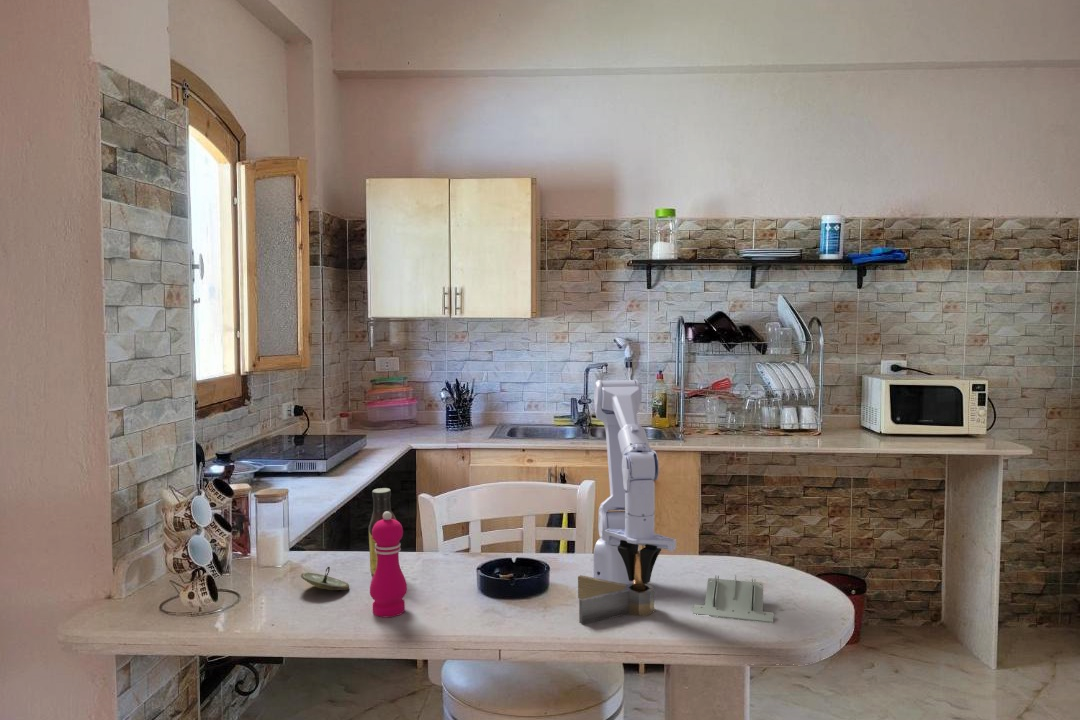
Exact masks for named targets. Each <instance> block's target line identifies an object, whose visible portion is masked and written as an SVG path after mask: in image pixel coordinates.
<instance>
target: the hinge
mask: <svg viewBox="0 0 1080 720" xmlns="http://www.w3.org/2000/svg"><path fill="white" fill-rule="evenodd" d="M577 598H578V602H579V603H578V606H579V608H578V610H579V613H578V615H579V619H578V621H579V624H581V625H586V624H589V623H593V622H598V621H603V620H607V619H611V618H617V617H620V616H625V615H633V616H638V617H640V616H641V617H642V616H649V615H651V614H652V613H654V612H655V588H654V586H652V585H651V584H648V583H647V584H646V585H645V591H640V592H638V591H634V590H633V583H632V584H628V585H627V584H622V583H617V582H612V581H607V580H602V579H597V578H594V577H591V576H586V575H581V574H580V575H578V577H577ZM653 611H654V612H653Z"/></svg>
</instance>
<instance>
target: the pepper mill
mask: <svg viewBox="0 0 1080 720" xmlns="http://www.w3.org/2000/svg"><path fill="white" fill-rule="evenodd" d="M391 517H392V514H391V513H390V512H388V511H386V512H384V513H383V519H382V520H380V521H378V522H377V523H376V524H375V525H374V526H373V529H372V538H373V540H374V541H375V542H376V544H375V552H376V553H377V567H376V571H375V574H374V576H373V579H371V582H370V585H369V595H370V597H371V599H373V600H374V601H373V602H372V614H373V615H374V616H377V617H381V618H392V617H397V616H399V615H401V614H403V613H404V612H405V610H406V607H405V606H406V604H405V603H406V602H405V599H403V598H404V597H406V595H407V592H408V584H407V581H406V578H405V576H404V574H403V571H402V569H401V566H400V562H399V560H400V559H398V555H399V554H400V553H399V552H401V550H402V548H401V544H402V543H401V542H400V541H401V540H402V538H403V534H404V528H403V526H402V523H400V521H398V520H397V519H396V520H395V519H391Z"/></svg>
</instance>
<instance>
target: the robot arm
mask: <svg viewBox="0 0 1080 720" xmlns="http://www.w3.org/2000/svg"><path fill="white" fill-rule="evenodd" d="M642 391H643V390H642V386H641V383H640V381H639V380H638V379H630V380H629V379H628V380H626V379H623V380H622V379H621V380H611V379H610V380H607V379H606V380H601V379H598V380H597V379H596V382H594V388H593V400H594V401H593V402H594V403H593V405H594V414H595V417H596V420H598V421H600V422H602V423H603V427H604V431H605V439H606V440H605V441H606V453H607V454H606V455H607V468H608V481H609V483H608V484H609V497H607V498H606V499H605V500H603V501H602V502H601V503H600V504H599V508H598V517H597V518H598V521H597V522H598V523H597V524H598V534H599V538H598V540H597V541H596V543H595V545H594V547H593V548H594V549H593V578H597V579H602V580H607V581H612V582H617V583H622V584H627V585H628V584H632V583H633V552H635V551H640V554H641V559H642V568H643V569H642V581H643V583H644V584H648V583H650V582H651V577H652V573H653V570H654V567H655V564H656V561H657V559H658V557H659V555H660V553H661V551H662V550H667V551H668V552H674V551H675V550H676V549H677V539H676V538H671V537H667V536H664V535H661V534H657V533H655V511H656V510H655V505H656V503H655V501H656V500H655V499H656V497H655V495H656V494H655V492H656V491H655V490H656V489H655V486H656V484H655V482H656V481H657V480H658V479H659V473H660V466H659V458H658V453H657V452H656V450H654V448H653V447H652V448H651V447H650V444H649V440H648V437H647V433H646V430H645V429H644V427H642V425H640V424H638V423H639V421H638V417H637V416H638V413H639V409H640V406H641V403H642V398H643V397H642V396H643V395H642V393H643V392H642ZM640 546H643V548H641V549H640ZM644 546H645V547H644Z"/></svg>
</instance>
